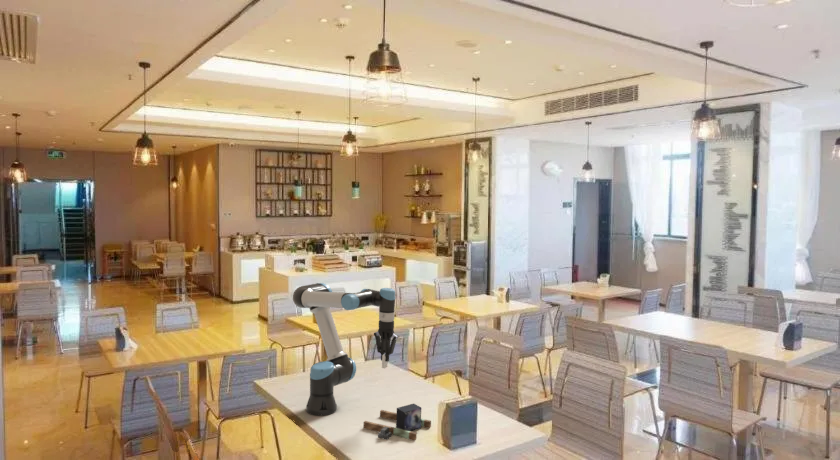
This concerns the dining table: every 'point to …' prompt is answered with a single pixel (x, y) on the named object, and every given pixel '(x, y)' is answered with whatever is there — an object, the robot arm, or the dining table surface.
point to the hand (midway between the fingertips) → (384, 367)
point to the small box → (408, 417)
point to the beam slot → (391, 429)
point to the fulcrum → (385, 433)
